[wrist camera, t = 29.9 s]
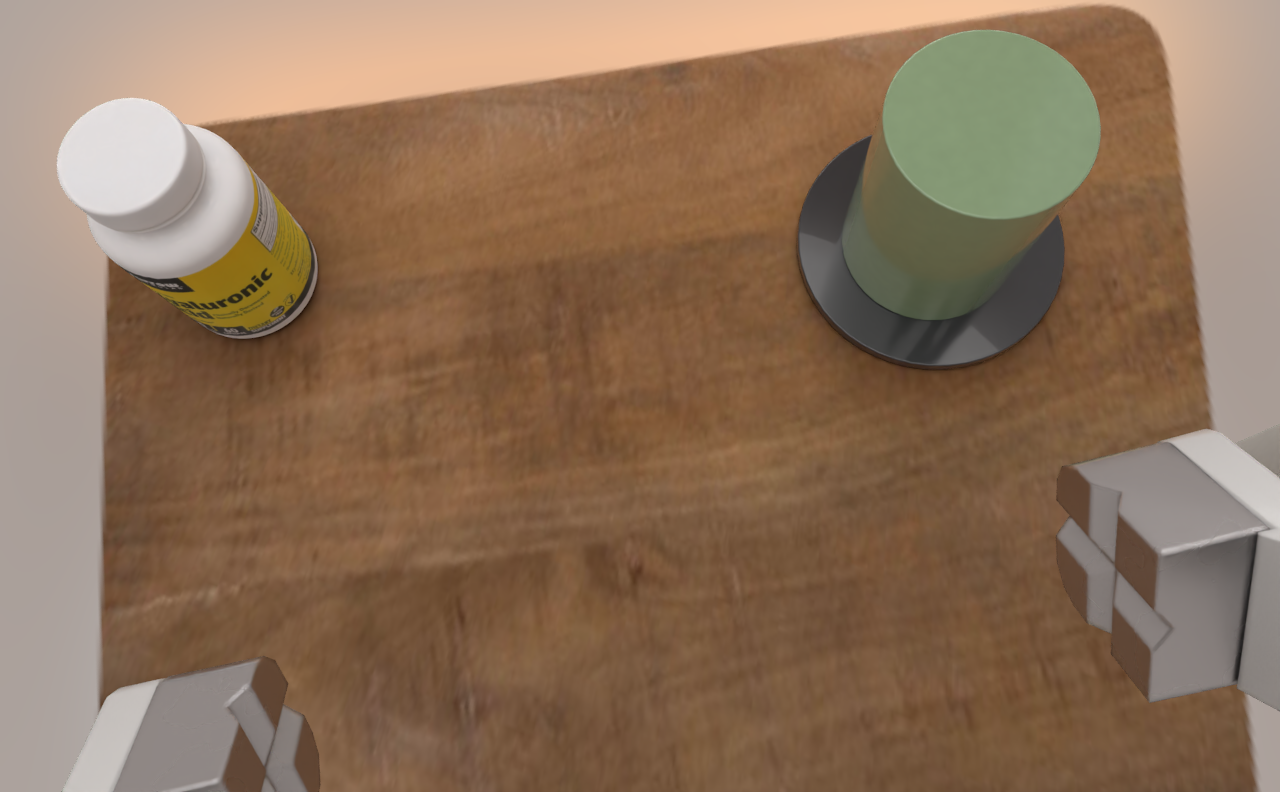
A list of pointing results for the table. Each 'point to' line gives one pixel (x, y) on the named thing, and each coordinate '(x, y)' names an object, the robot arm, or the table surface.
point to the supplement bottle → (187, 218)
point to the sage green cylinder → (966, 171)
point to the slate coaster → (905, 336)
